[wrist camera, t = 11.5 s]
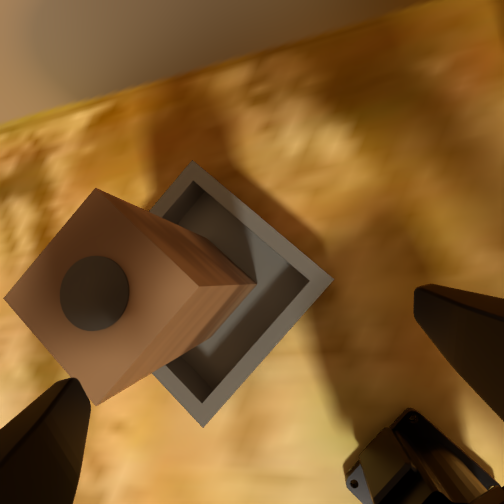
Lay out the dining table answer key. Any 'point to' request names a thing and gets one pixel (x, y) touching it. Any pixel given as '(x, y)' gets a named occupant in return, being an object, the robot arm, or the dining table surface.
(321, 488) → the dining table surface
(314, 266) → the tray
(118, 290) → the block
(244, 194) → the dining table surface
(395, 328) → the dining table surface
